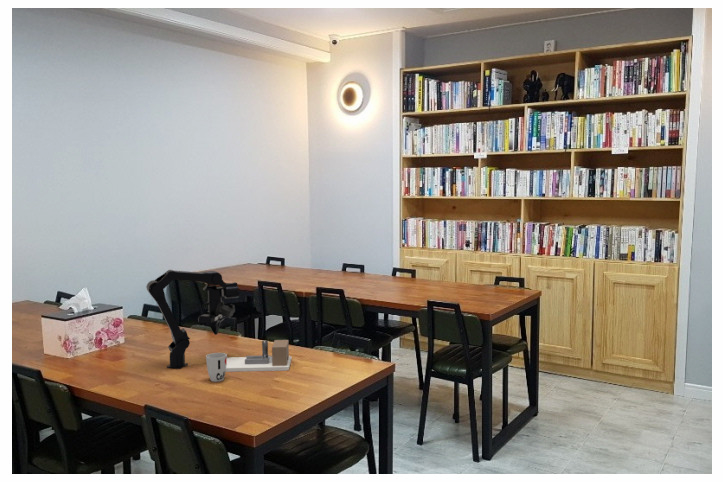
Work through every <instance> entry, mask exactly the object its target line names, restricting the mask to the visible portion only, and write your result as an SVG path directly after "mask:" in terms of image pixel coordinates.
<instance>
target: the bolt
mask: <svg viewBox="0 0 723 482" xmlns="http://www.w3.org/2000/svg"><path fill="white" fill-rule="evenodd" d="M261 349H262V351H261V352H262V353H261V354H262V355H261V356H262V358H261V359H269V362H272V355H270V356H268V355H269V341H268V340H262V341H261Z"/></svg>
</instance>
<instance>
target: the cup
mask: <svg viewBox="0 0 723 482" xmlns="http://www.w3.org/2000/svg"><path fill="white" fill-rule="evenodd" d="M227 357H228V354H227V353H224V352H212V353H208V354H206V355H205V360H206V369H207V375H208V377H209V379H210V381H211V382H212V383H218V382H223V381H224V380H225V377H226V373H227V372H226V364H227Z"/></svg>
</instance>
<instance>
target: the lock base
mask: <svg viewBox="0 0 723 482" xmlns="http://www.w3.org/2000/svg"><path fill="white" fill-rule="evenodd" d="M273 341H274V342H273V344H272V347H271V355H269V354H268V356H272V362H269V359H261V358H262V355H246V356H243V357H242V356H241V357H240V356H234V357H232V356H231V357H228V356H227V364H226V372H225V373H227V372H228V373H232V372H235V373H236V372H272V371H273V372H278V371H280V372H282V371H286V372H287V370H288V371H289V370H290V367H291V363H292V355H291V356H290V350H289V349H290V348H289V345H290V344H289V343H290V342H289V341H290V340H289V339H274V340H273Z"/></svg>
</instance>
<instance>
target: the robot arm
mask: <svg viewBox="0 0 723 482" xmlns="http://www.w3.org/2000/svg"><path fill="white" fill-rule="evenodd" d="M173 281H187V282H188V281H189V282H201V283H204V284H206V285H205V286H204V287H203V288H202V290H203V291H207V302H205V303H206V306H208V311H206V314H205V313H204V314H201V315H199V316H198V318H197V321H198V322H197V323H204V324H208V326H209V327H210V328H211V330H212V333H213V334H214V335H215V336H216V335H218V333H219V330H220V327H221V323H222V322H223V321H224V320H225V319H226V318H227V319H229V318H231V317H233V316H234V313H235V312H236V307H235V304H233V303H231V304H229V305H225V302H224V300H222V297H224V299H237V298H239V297H240V290H239V286H238V283H237V282H230V283H229V282H228V283H227V282H225V281H224V280H223V276H222V274H221V273H220V272H219V271H216V270H206V271H199V272H198V271H197V272H196V271H186V270H185V271H184V270H173V269H168V270H167V271H166V272H164V273H163V274H161V275H159V276H158V277H157V278H155V279H153V280H150V281H148V283H147V284H146V286H145V287H146V290H147V292H148V293H149V295H150V296H151V297H152V299H153V300H154V301H155V302H156V304H157V306H158V308H159V309H160V312H161V313H162V316H163V319H164V320H165V322H166V324H167V326H168V328H169V330H170V334H171V339H172V342H171V343H170V344H169V345H168V350H169V351H170V352H169V365H167V366H166V368H169V369H176V370H177V369H179V370H180V369H182V368H184V367H186V366H188V365H189V363H187V362H186V354H185V353H186V350H187V349H188V348H189V346H190V343H191V342H190V339H191V338H190V337H189V335H188V332H187V330H186V329H185V328H180V326H179V323H178V322H177V320H176V318H175V315H174V314H173V312H172V309H171V308H170V306H169V303H168V301H167V299H166V293H165V288H166V287H168V285H169V284H170V283H171V282H173Z"/></svg>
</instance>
